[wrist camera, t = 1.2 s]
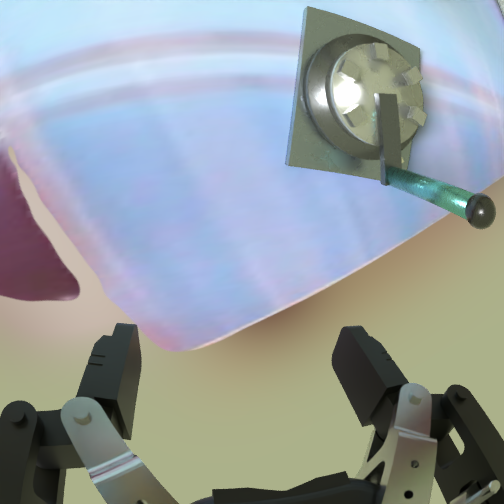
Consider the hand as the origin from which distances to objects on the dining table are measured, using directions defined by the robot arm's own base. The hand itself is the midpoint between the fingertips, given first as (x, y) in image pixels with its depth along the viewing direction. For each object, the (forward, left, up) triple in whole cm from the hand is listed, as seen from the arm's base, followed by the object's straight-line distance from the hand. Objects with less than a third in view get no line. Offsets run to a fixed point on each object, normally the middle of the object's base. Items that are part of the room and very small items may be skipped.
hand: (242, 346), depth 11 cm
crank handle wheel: (-13, +18, -24) cm, 33 cm away
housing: (-15, +18, -28) cm, 36 cm away
